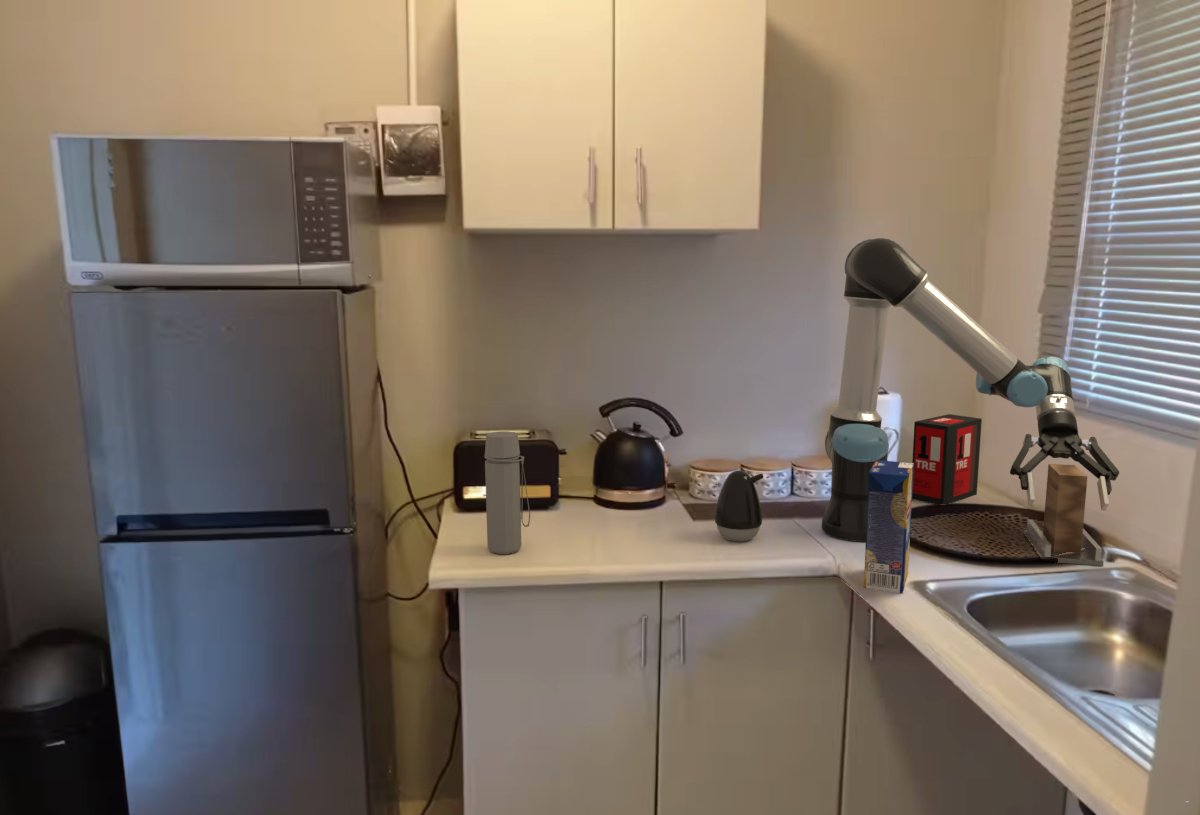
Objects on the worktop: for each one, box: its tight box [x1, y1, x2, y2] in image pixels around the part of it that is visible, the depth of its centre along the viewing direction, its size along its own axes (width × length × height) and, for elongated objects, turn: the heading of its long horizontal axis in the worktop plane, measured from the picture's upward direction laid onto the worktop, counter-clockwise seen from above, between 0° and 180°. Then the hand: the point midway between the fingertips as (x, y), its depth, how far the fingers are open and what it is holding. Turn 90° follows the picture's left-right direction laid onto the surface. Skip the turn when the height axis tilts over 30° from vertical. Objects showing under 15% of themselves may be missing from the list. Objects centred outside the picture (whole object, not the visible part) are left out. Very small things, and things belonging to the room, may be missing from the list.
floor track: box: [1023, 519, 1105, 567], centre depth 178 cm, size 11×18×4 cm, turn 164°
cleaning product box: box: [911, 413, 983, 505], centre depth 218 cm, size 16×9×20 cm, turn 129°
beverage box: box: [863, 460, 914, 594], centre depth 160 cm, size 7×11×22 cm, turn 156°
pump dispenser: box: [714, 469, 764, 543], centre depth 187 cm, size 10×10×15 cm
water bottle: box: [483, 430, 531, 555], centre depth 179 cm, size 9×8×25 cm
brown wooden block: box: [1043, 463, 1088, 553], centre depth 177 cm, size 5×10×16 cm, turn 164°
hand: (1067, 505), depth 175 cm, fingers open, 13 cm apart
